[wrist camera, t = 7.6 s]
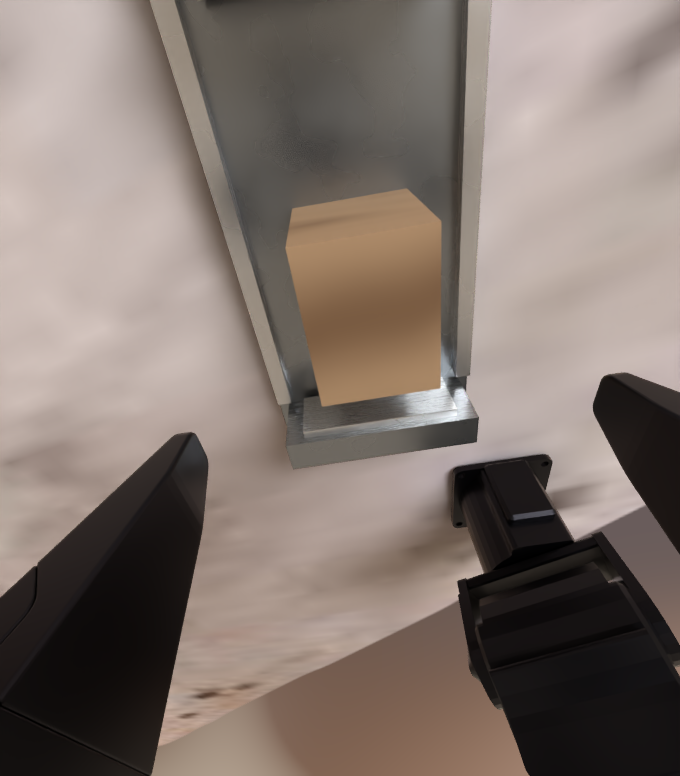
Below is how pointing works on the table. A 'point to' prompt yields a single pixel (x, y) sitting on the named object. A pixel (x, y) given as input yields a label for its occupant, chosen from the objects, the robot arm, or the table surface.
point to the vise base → (339, 175)
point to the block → (369, 294)
